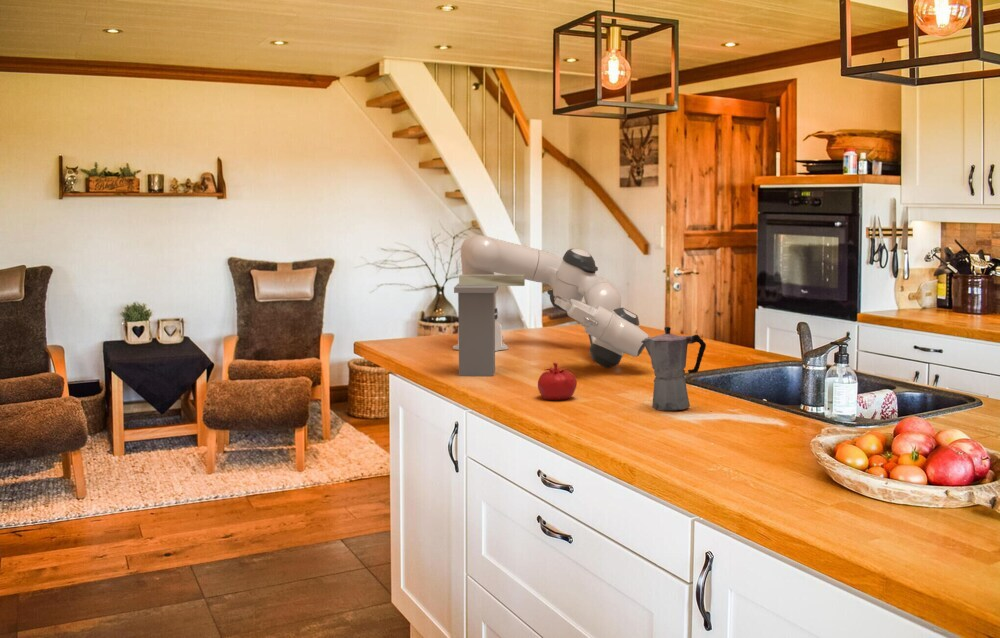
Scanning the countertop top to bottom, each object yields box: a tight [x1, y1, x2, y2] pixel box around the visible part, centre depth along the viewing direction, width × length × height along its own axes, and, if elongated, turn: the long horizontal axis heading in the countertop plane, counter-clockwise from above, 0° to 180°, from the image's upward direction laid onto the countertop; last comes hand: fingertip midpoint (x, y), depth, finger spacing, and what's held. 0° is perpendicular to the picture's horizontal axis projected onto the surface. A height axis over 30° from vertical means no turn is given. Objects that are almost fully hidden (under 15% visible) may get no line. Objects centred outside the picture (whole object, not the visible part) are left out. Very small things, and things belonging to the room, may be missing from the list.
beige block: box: [458, 274, 526, 287], centre depth 274 cm, size 4×19×3 cm, turn 87°
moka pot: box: [641, 326, 707, 412], centre depth 229 cm, size 10×15×20 cm, turn 85°
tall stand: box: [453, 282, 499, 377], centre depth 276 cm, size 14×12×26 cm
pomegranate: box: [537, 362, 578, 401], centre depth 241 cm, size 10×10×9 cm
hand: (555, 298), depth 274 cm, fingers open, 8 cm apart
